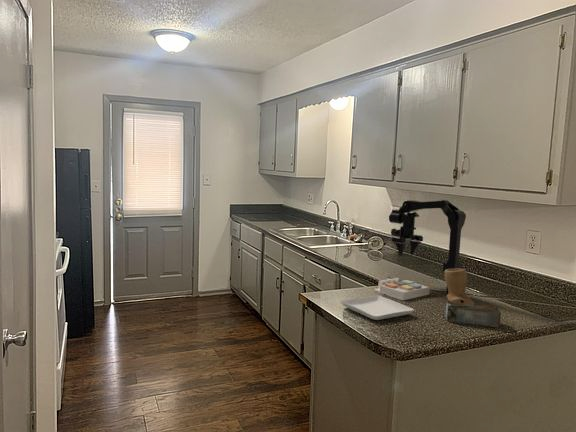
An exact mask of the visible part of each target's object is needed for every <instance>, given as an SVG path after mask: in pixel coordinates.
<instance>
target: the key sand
mask: <svg viewBox="0 0 576 432" xmlns="http://www.w3.org/2000/svg"><path fill="white" fill-rule="evenodd" d="M400 289H404V290H407V291H409V290H414V287H412V286H408V285H403V286H400Z"/></svg>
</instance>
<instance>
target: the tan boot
mask: <svg viewBox="0 0 576 432" xmlns="http://www.w3.org/2000/svg"><path fill="white" fill-rule="evenodd" d="M444 275H445V276H444ZM443 276H444V280H445V284H446V288H447V287H448V291H449V294H447V295H446V299H447V300H448V302H451V303H459V304H468V305H475V302H474V301H473V300H472V299H471V298H470V296H468V295H466V287H467V284H468V272H467V270H466V269H465V268H461V269H446V270H445V272H444V271H443Z"/></svg>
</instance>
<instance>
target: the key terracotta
mask: <svg viewBox="0 0 576 432" xmlns="http://www.w3.org/2000/svg"><path fill="white" fill-rule="evenodd" d="M385 286H386V287H390V288H397V287H399V285H398V284H394V283H387V284H385Z"/></svg>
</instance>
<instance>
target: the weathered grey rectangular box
mask: <svg viewBox="0 0 576 432" xmlns="http://www.w3.org/2000/svg"><path fill="white" fill-rule="evenodd" d="M445 306H446V307H445V319H446V322H451V323H459V324H465V325H466V324H467V325H474V326H481V325H482V326H483V327H489V326H490V327H491V328H500V322H501V311H500V310H499V308H498V307H495V306H491V305H487V306H485V305H476V304H474V305H468V304H459V303H452V302H450V301H447V302H446V305H445Z"/></svg>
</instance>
